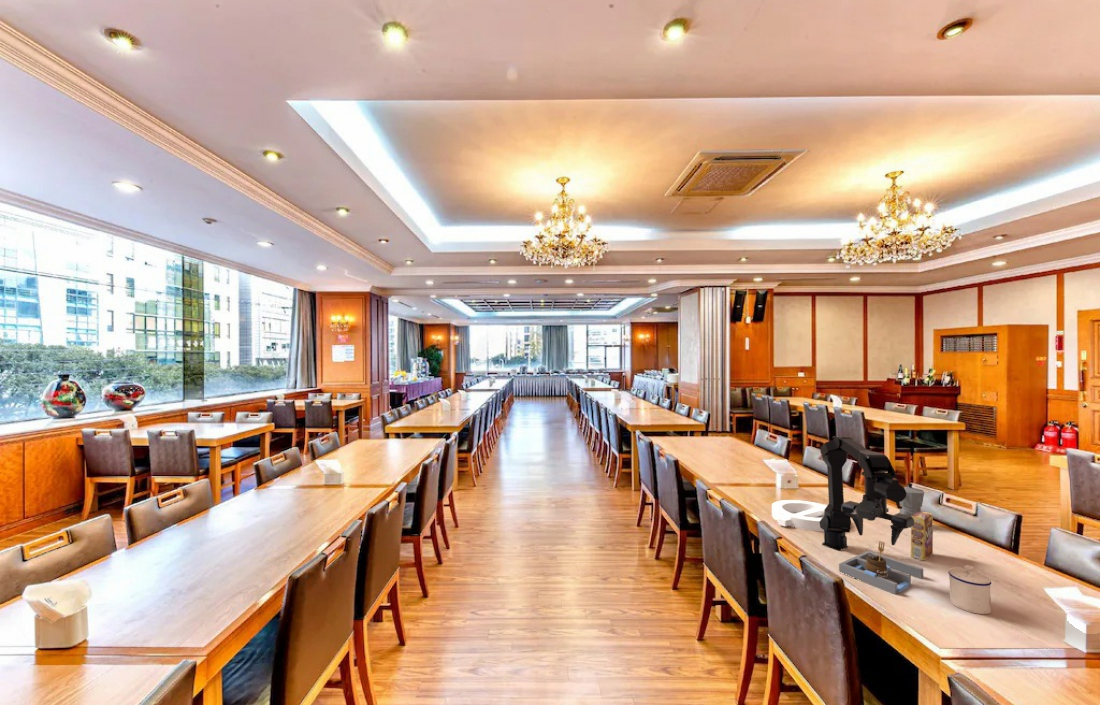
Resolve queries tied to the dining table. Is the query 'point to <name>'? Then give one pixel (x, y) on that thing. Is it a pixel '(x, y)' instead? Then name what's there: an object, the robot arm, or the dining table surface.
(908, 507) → the coffeepot
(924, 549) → the candy box
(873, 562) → the utensil holder
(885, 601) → the dining table surface
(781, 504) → the ring with crossbar
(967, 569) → the teacup with lid
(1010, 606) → the dining table surface
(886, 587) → the divider rack
